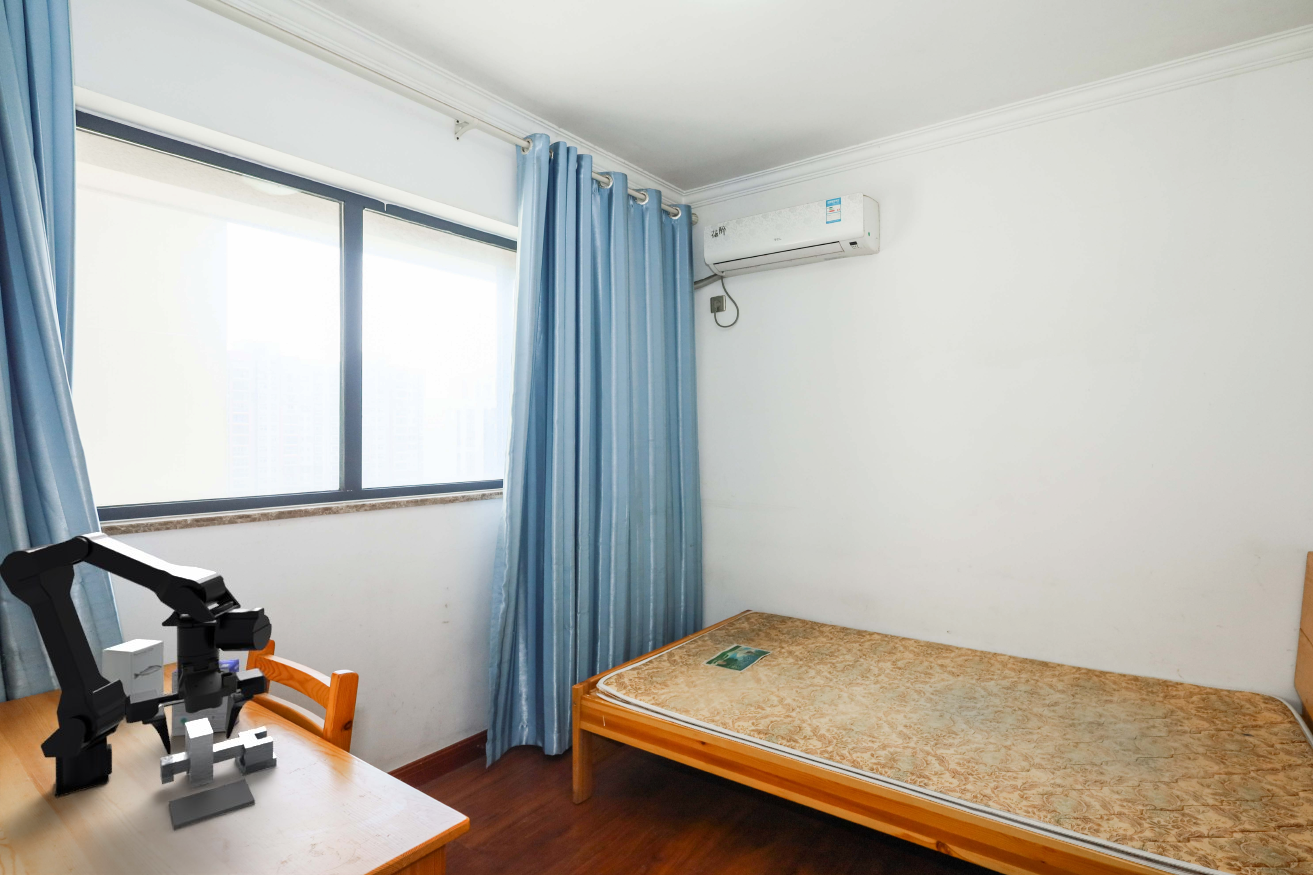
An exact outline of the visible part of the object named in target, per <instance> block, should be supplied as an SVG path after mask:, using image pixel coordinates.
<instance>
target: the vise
mask: <svg viewBox="0 0 1313 875" xmlns="http://www.w3.org/2000/svg"><path fill="white" fill-rule="evenodd" d="M233 759H234V760H235V763H236V765H237V768H238V770H239V772H240V774H241V776H243V777H244V776H247V775H250V774H254V773H257V772H260V771H265V770H268V769H272V768H274V767H277V766H278V765H277V759H278V758H277V756H276V754H275V752H274V740H273V737H271V736H268V729H267V728H266V726H265V725H264V726H261V727H256V728H253V729H249V730H246V731H245V730H244V731H241V732H238V737H236V738H232V739H227V740H225V741H222V742H221V741H220V742H218V743H213V765H214V764H218V763H221V762H225V761H226V762H227V761H228V760H233ZM159 762H160V763H159V764H160V765H159V766H160V768H159V769H160V772H159V773H160V774H159V776H160V777H159V778H160V780H161V785H165V784H168V783H169V784H170V783H172V782H174V781H175V775H179V774H181V773H186V771H189V756H188V753H187V751H186V750H185V751H183V752H179V753H175V754H170V755H166V756H164V757H160V758H159Z"/></svg>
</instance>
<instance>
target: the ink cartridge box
mask: <svg viewBox="0 0 1313 875" xmlns="http://www.w3.org/2000/svg"><path fill="white" fill-rule="evenodd" d="M220 652H221V649H219V654H220ZM219 666H220V670H221V673H223V672H230V671H236V673H237V672H240V659H239V658H237V659H236V658H234V659H233V658H232V659H222V660H221V659H220V660H219ZM174 692H177V668H176V669H175V670H174V671H172V672H171V693H174ZM227 701H228V696H226V697H223V703H222V705H221V706H220V707H217V708H214V709H212V708H209V709H205V710H201V711H198V712H196V713H187V712H186V710H185V703H180V704H176V705H171V735H170V736H171V737H178V736H185V723H187V722H191V721H196V720H200V719H204V718H207V719H208V721H209V724H210V726H211V729H212V731H213V733H219V732H225V725H226V713H227ZM239 721H240V714H239V715H238V717H237V720H236V722H235V725H236V724H237V723H238V722H239Z"/></svg>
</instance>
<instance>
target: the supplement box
mask: <svg viewBox="0 0 1313 875" xmlns="http://www.w3.org/2000/svg"><path fill="white" fill-rule="evenodd" d="M164 649H165V648H164V640H157V639H156V640H155V639H143V638H142V639H140V638H135V639H132V640H129V641H127V642H123V643H120V644H117V645H114V646H111V647H107V648H105V649H102V650H101V651H102V653H101V654H102V655H101V657H102V660H101V667H102V668H101V671H102V672H101V673H102V674H101V676H103V677H104V678H106V679H107V680H109V681H110V682H111V683H112V682H114V681H116V680H118V679H120V680H121V682H122V683H123V689H124V692H125V694H126V696H127V697H128V696H129V695H130V694H135V693H140V692H145V691H150V690H154V689H156V692H157V695H158V696H159V695H164V694H165V693H164V690H165V688H164V686H165V685H164V666H165V665H164V664H165V663H164V657H165V656H164V653H165V652H164Z"/></svg>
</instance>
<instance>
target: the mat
mask: <svg viewBox="0 0 1313 875" xmlns="http://www.w3.org/2000/svg"><path fill="white" fill-rule="evenodd" d="M255 804H256V801H255V797H254V795H253V793H252V791H251V789H250V786H249V784H248V782H247V780H246V778H242V779H239V780H236V781H233V782H229V783H225V784H222V785H219V786H217V787H213V788H212V787H211V788H209V789H206V790H202V791H198V792H196V793H192V794H189V795H186V796H183V797H179V798H175V799H172V800H170V801H168V807H169V808H168V809H169V813H170V817H171V822H172V826H173V830H174V831H175V830H178V829H181V828H184V827H186V826H190V825H194V824H197V823H200V822H202V821H206V820H208V819H212V818H215V817H217V816H221V815H224V814H227V813H231V812H234V811H237V810H240V809H243V808H246V807H249V806H252V805H255Z"/></svg>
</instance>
